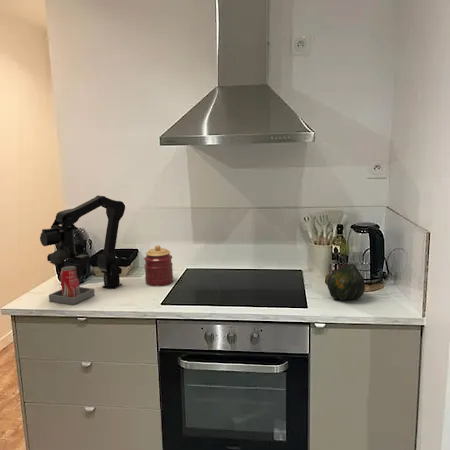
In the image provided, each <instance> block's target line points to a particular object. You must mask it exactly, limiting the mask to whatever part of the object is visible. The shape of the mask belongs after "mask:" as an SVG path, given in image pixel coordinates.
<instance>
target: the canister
mask: <svg viewBox="0 0 450 450" xmlns="http://www.w3.org/2000/svg"><path fill="white" fill-rule="evenodd" d="M145 255H146V256H145V257H143V260H144V263H145V264H144V273H145V277H144V279H145V283H146V285H148V286H153V287H160V286H161V287H163V286H167V285H171V284H172V283H173V282H174V273H173V271H174V270H173V262H172V259H173V255H171V251H170V250H168V249H167V248H164V247H163V248H162V247H161V246H160V245H159V244H156V245H155V246H154V248H151V249H148V251H146V252H145Z"/></svg>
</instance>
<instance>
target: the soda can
mask: <svg viewBox="0 0 450 450" xmlns="http://www.w3.org/2000/svg"><path fill="white" fill-rule="evenodd" d="M60 274H61V276H60V282H61V289H62V295H63V296H65V297H71V298H73V297H76V296H78V295H80V287H81V286H80V279H78V278H77V271H76V267H75V266H74V265H68V266H67V265H66V266H64V267H63V268H61V272H60ZM60 274H59V275H60Z"/></svg>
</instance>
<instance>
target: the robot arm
mask: <svg viewBox="0 0 450 450" xmlns="http://www.w3.org/2000/svg"><path fill="white" fill-rule="evenodd" d="M100 207H102V208H104V209H105V212H106V217H107V225H106V232H105V239H104V245H103V246H104V247H103V251H102V252H101V254H97V261H96V264H97V267H98V269H99V270H100V272H101V274H103V285H102V288H105V289H110V290H111V289H113V290H114V289H117V288H119V287H120V286H122V285H123V283H121V282H120V275H121V274H122V272H123V269H122V268H121V267H120V266H119V265H118V264H117V262H118V261H117V255H116V244H117V238H118V232H119V224H120V221H121V219H122V218H123V216H124V214H125V210H126V205H125V203H124V202H123V201H121V200H114V199H111V198H109V197H106V196H104V195H96V196H94V198H91V199H90V200H87V201H85V202H83V203H81V204H80V205H78V206H75V207H74V208H68V209H64V210H62V211H58V212H57V213H56V215H55V219H54V221H53V223H52V224H51V226H50V228H43V229H41V233H40V236H39V241H40V243H41V245H42V247H48V246H53V245H57V244H58V245H57V250H55V251H54V252H51V253H48V255H47V256H46V258H47V259H46V260H47V262H49V263H50V264H52V265H54V266H55V268H56V270H57V272H58V274H59V276H60V277H61V274H60V272H61V268H63V267H65V261H71V262H72V261H73V263H74V264H73V266H75V267H76V271H77V278H78V279H79V280H80V279H81V277H82V275H83V273H84V269H85V267H86V266H87V264H89V263H91V256H90V255H88V254H80V255H79V254H78V252H76V246H78V243H77V242H75V235H74V234H75V232H74V231H78V230H79V228H78V227H77V226H76V225H75V224H76V223H77V222H78V221H79V219H80V218H81V217H83V216H85V215H87V214H89V213H90V212H92V211H94V210H96V209H98V208H100Z"/></svg>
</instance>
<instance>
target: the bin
mask: <svg viewBox="0 0 450 450" xmlns="http://www.w3.org/2000/svg"><path fill="white" fill-rule="evenodd" d="M79 287H80V295H78V296H76V297H73V298H71V297H65V296H63V295H62V288H61V289H60V290H57V291H55V292H52V293H49V294H48V301H49V303H57V304H62V305H67V306H69V305H70V306H75V305H78V304H80V303H82V302H83V301H86V300H88V299H90V298H92V297H94V296H95V289H94V288H90V287H84V286H79Z"/></svg>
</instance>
